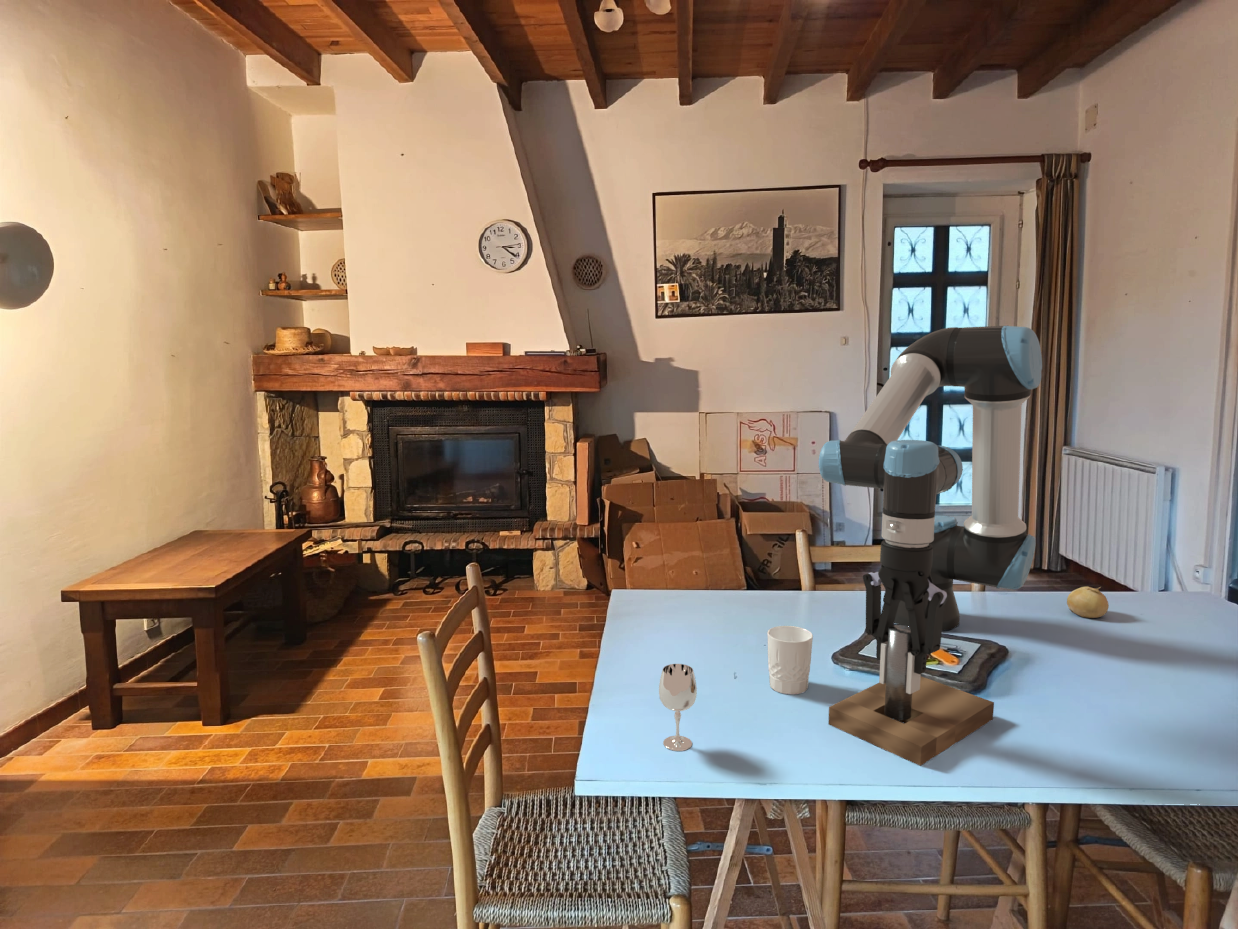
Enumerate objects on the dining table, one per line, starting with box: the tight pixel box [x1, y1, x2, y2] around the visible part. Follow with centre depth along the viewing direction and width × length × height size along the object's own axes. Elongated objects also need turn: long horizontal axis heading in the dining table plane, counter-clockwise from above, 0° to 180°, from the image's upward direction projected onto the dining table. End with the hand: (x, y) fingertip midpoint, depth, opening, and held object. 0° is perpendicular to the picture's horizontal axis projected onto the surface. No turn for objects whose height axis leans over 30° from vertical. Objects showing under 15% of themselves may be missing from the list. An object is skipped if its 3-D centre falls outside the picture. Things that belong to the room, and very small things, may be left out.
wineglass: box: [658, 663, 698, 752], centre depth 116 cm, size 6×6×12 cm
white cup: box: [766, 625, 814, 695], centre depth 136 cm, size 8×8×10 cm
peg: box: [884, 624, 913, 721], centre depth 119 cm, size 4×4×14 cm
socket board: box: [827, 676, 995, 767], centre depth 123 cm, size 16×22×3 cm
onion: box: [1066, 586, 1109, 619], centre depth 171 cm, size 8×8×7 cm
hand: (899, 685), depth 120 cm, fingers closed on peg, 4 cm apart
